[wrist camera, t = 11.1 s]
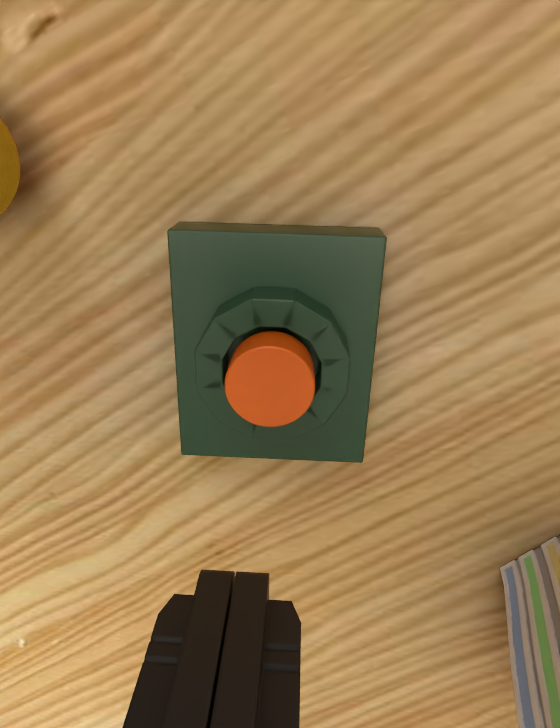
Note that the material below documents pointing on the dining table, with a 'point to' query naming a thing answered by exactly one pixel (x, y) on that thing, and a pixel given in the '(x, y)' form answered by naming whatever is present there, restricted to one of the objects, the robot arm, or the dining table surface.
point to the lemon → (8, 167)
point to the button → (270, 379)
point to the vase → (535, 634)
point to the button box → (275, 313)
